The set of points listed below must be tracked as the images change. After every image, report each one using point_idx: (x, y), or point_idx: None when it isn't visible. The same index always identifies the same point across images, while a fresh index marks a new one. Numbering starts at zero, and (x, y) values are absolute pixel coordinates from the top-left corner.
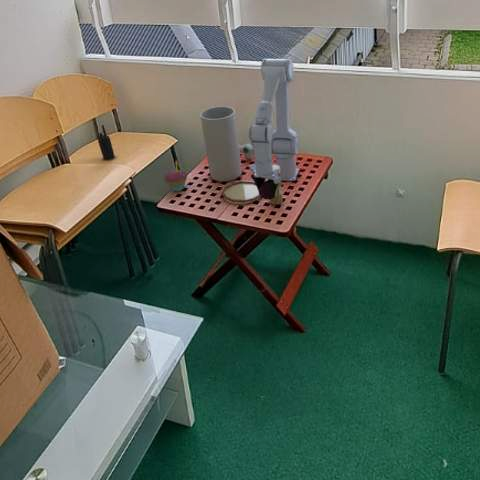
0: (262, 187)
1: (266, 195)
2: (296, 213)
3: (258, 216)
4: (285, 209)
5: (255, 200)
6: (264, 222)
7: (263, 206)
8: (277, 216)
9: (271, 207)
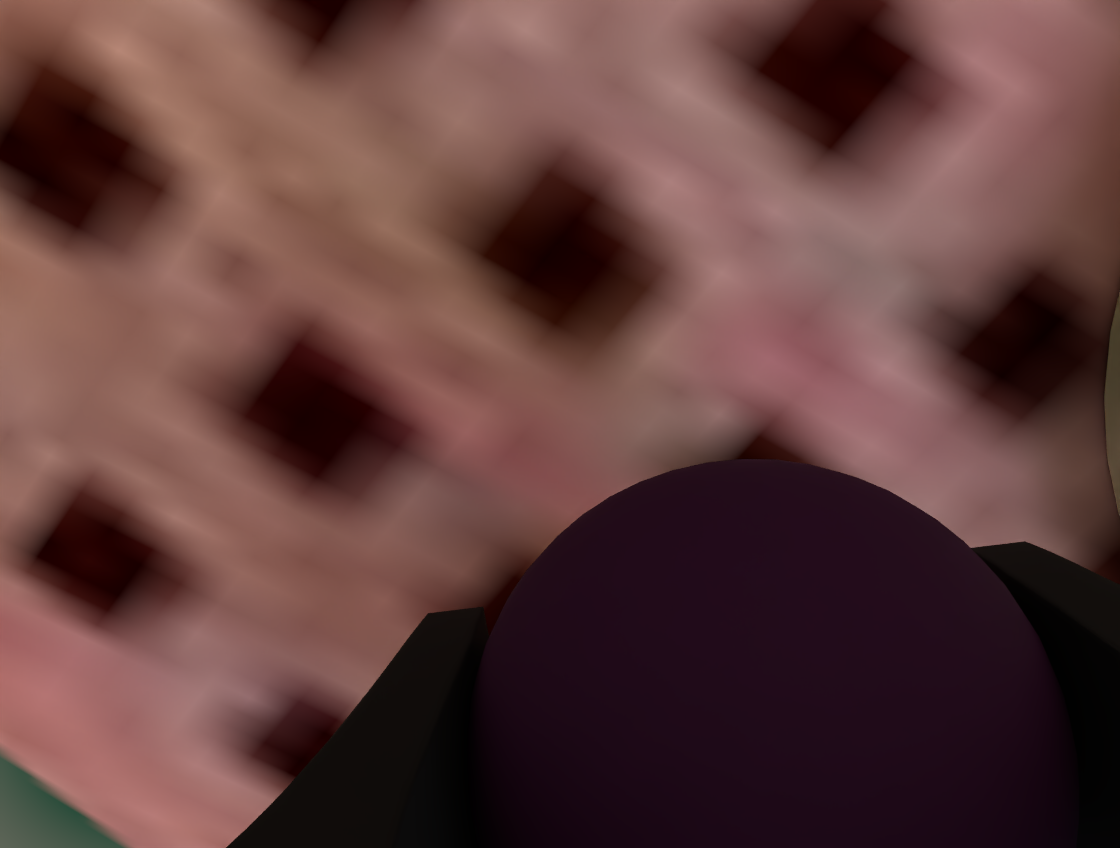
0: (782, 783)
1: (507, 620)
2: (48, 768)
3: (387, 47)
4: (314, 690)
5: (1110, 381)
6: (13, 21)
7: (741, 398)
8: (130, 427)
9: (576, 516)
